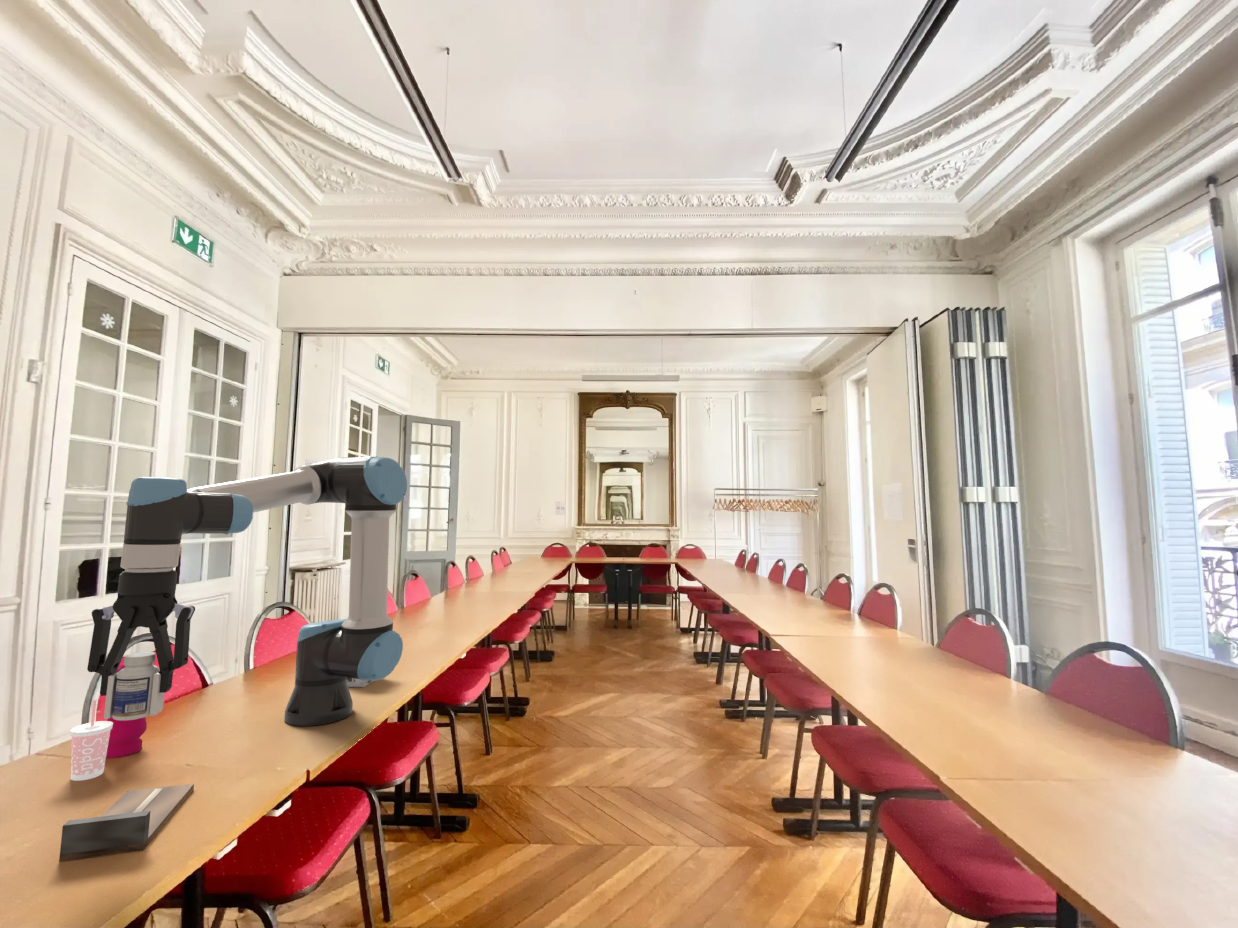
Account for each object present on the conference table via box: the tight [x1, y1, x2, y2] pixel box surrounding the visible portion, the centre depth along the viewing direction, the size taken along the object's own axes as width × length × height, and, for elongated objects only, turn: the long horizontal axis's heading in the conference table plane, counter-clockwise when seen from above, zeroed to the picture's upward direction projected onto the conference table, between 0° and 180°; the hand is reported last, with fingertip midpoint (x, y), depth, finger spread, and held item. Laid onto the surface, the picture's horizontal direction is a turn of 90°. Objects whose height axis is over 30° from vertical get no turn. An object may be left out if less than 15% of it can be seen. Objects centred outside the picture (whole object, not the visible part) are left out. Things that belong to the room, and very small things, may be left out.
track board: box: [58, 783, 195, 863], centre depth 94 cm, size 10×20×5 cm, turn 19°
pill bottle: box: [112, 651, 160, 720], centre depth 94 cm, size 5×5×10 cm
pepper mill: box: [106, 662, 148, 759], centre depth 121 cm, size 7×7×20 cm
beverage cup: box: [69, 698, 113, 782], centre depth 110 cm, size 6×6×14 cm
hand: (133, 714), depth 93 cm, fingers closed on pill bottle, 5 cm apart
